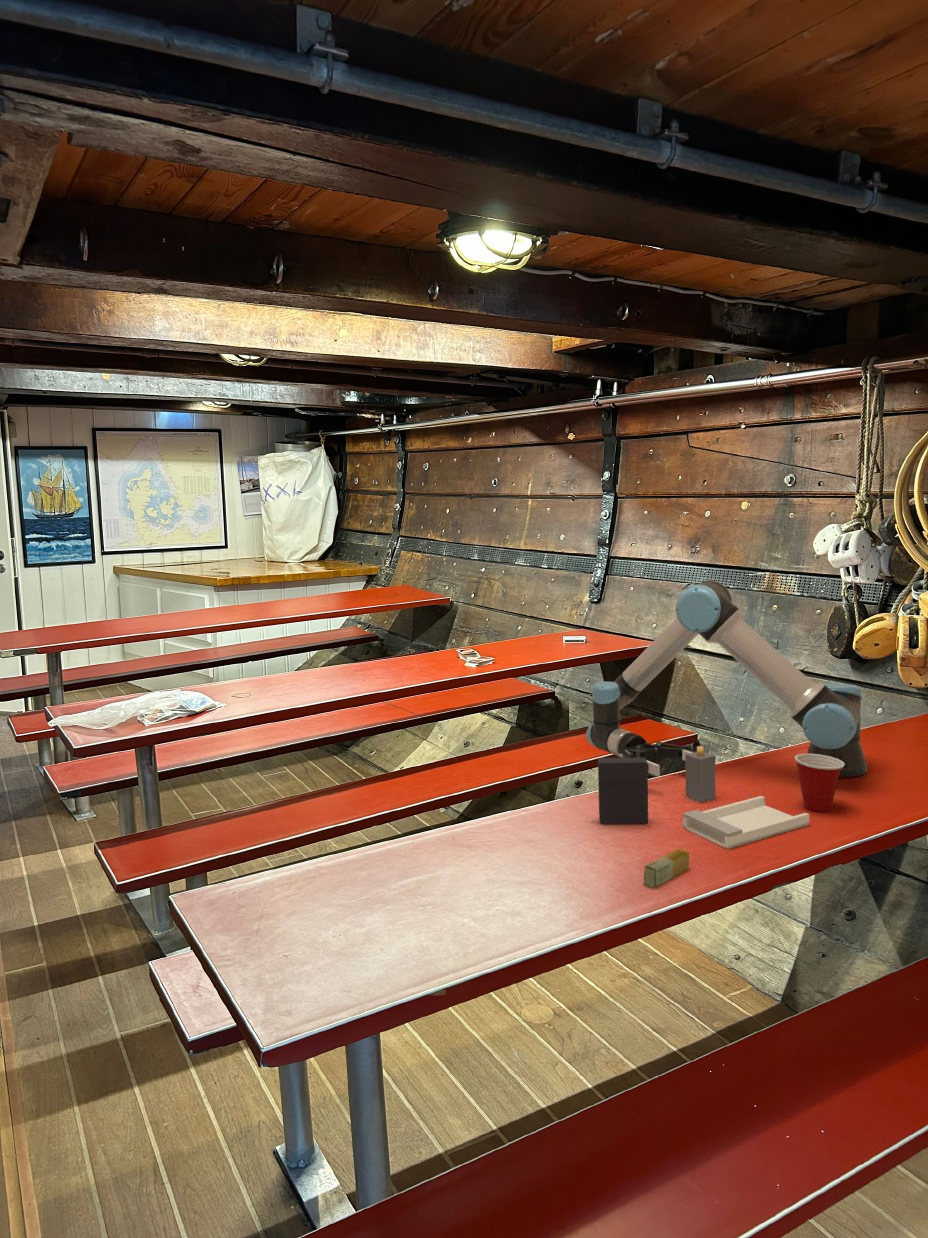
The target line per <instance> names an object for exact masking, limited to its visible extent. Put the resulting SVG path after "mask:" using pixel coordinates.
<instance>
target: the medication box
mask: <svg viewBox="0 0 928 1238" xmlns="http://www.w3.org/2000/svg"><path fill="white" fill-rule="evenodd" d="M689 866H690V852H689V851H687V850H685V849H681V848H677V849H675V850H673V851H671V852H669V853H668V854H665V855H664V856H661V857H660V858H657V859H656V860H655V861H652V862H650V863H649V864H646V865H645V866H643V867H644V869H643V870H644V872H643V885H644V886H647V887H649V888H652V889H656V888H657V887H659V886H660V885H662V884H664V883H666V882H668V881H670V880H672V879H673V878H675V877H677V876H679V875H681V873H684V872H686V871H687V870H689Z"/></svg>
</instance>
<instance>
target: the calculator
mask: <svg viewBox="0 0 928 1238" xmlns="http://www.w3.org/2000/svg"><path fill="white" fill-rule="evenodd" d="M597 776H598V777H597V781H598V782H597V783H598V814H599V815H598V820H599V824H600V825H648V824H649V789H648V788H649V784H648V783H649V782H648V781H649V773H648V763H647V758H619V757H600V758H598V759H597Z"/></svg>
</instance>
